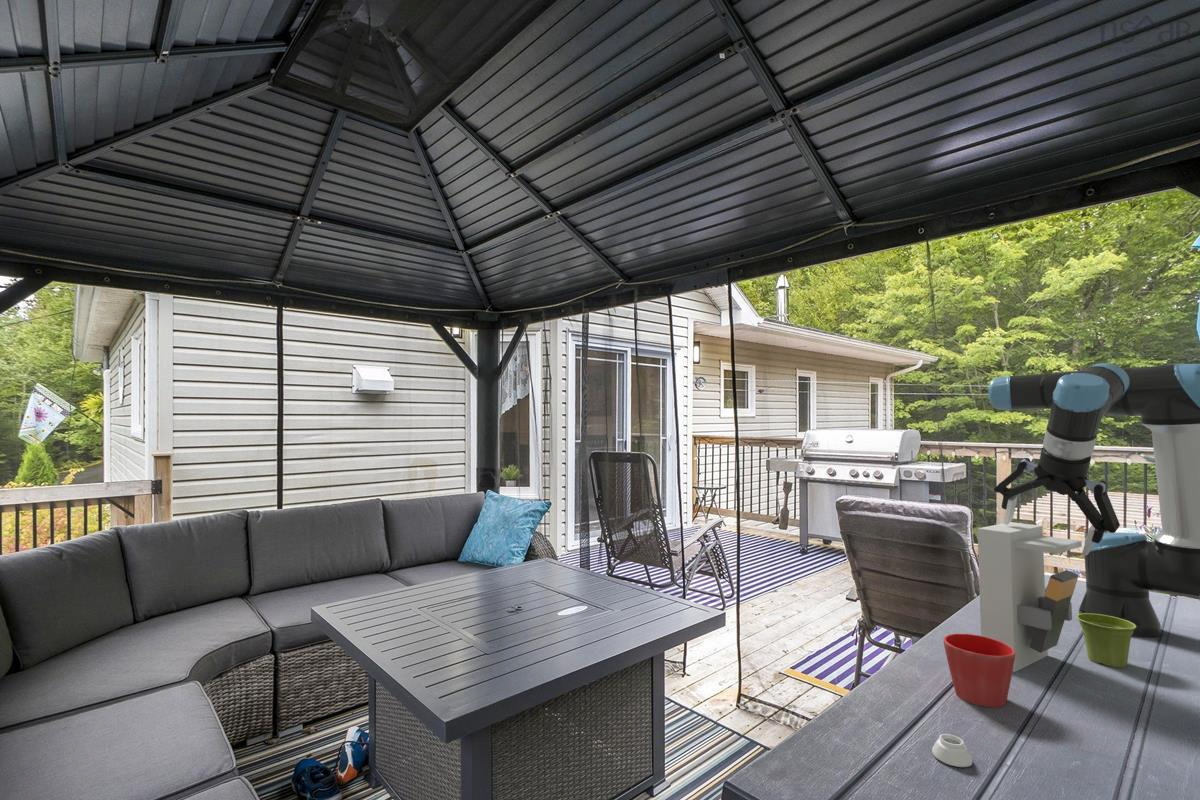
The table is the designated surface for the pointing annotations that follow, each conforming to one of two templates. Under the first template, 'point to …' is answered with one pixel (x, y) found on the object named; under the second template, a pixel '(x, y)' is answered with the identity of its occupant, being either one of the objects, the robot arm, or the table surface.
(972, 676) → the flower pot
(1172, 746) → the table surface
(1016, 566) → the box
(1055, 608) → the breaker switch
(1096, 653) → the plant pot
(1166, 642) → the table surface
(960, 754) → the white jar
